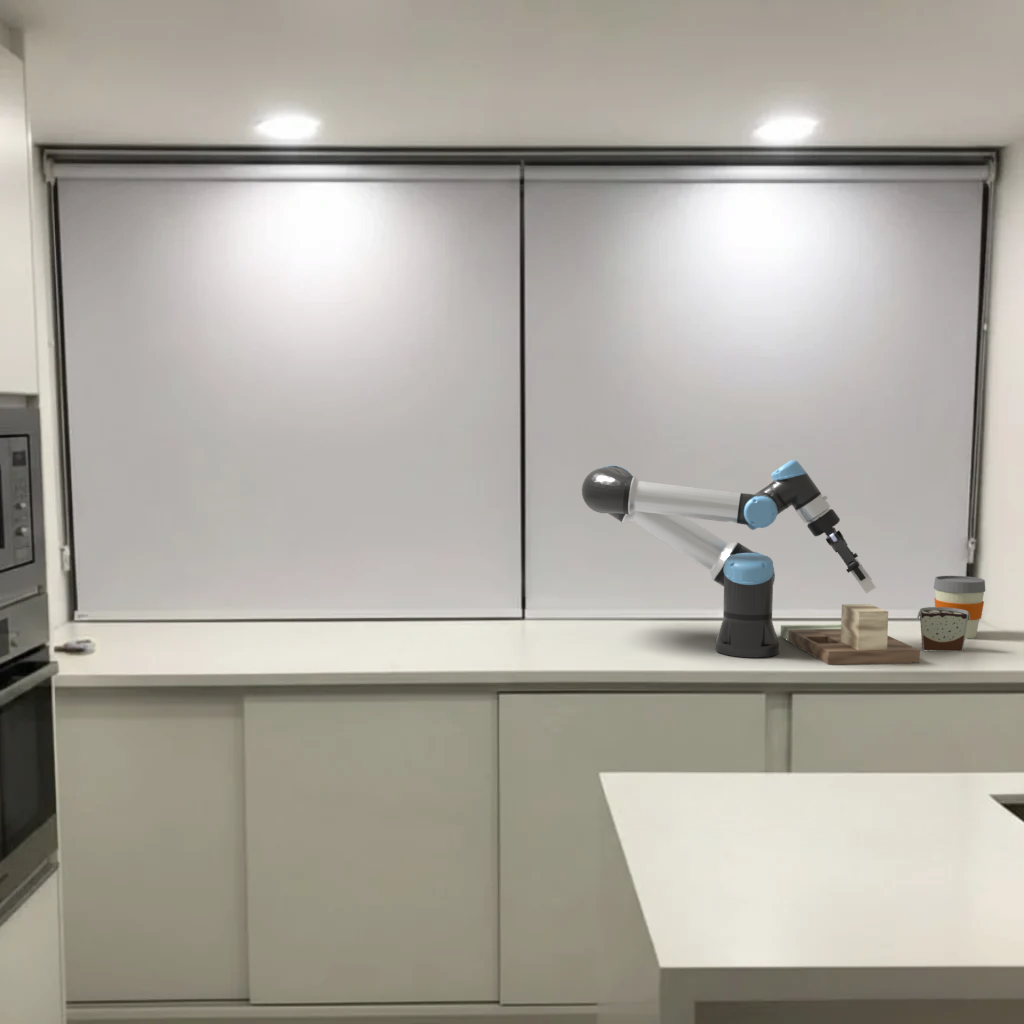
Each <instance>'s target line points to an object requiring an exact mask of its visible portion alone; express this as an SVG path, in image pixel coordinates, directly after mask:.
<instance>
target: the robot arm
mask: <svg viewBox="0 0 1024 1024" xmlns="http://www.w3.org/2000/svg"><path fill="white" fill-rule="evenodd" d="M770 477H771V478H772V480H773V481H772V482H771V483H769V484H768V485H767V486H765V487H764V488H762V489H761V490H758V491H757V492H756V493H754V494H753V493H743V492H734V491H726V490H725V491H724V490H717V489H709V488H700V487H691V486H684V485H676V484H675V485H674V484H667V483H659V482H650V481H643V480H639V479H638V477H636V476H633V475H632V473H630V472H629V471H628V469H625V468H624V467H621V466H618V465H607V466H603V467H600V468H596V469H594V470H592V471H591V472H589V474H587V476H586V477H585V478H584V479H583V483H582V486H581V496H582V499H583V501H584V503H585V504H586V506H587V507H588V508H589V509H590V510H592V511H594V512H596V513H598V514H599V513H600V514H608V515H609V516H611V517H613V518H615V519H616V520H618V521H619V522H621V523H622V524H623V523H629V522H632V523H633V524H635V525H636V526H638V527H639V528H641V529H643V530H644V531H646V532H647V533H649V534H651V535H652V536H654V537H655V538H657V539H658V540H660V541H662V542H664V543H665V544H666V545H668V546H670V547H671V548H672V549H674V550H676V551H677V552H679V553H681V555H684V556H686V557H687V558H688V559H690V560H692V561H693V562H695V563H696V564H698V565H700V566H701V567H703V568H704V569H706V570H708V571H709V573H710V575H711V578H712V579H711V580H712V581H714V582H715V583H717V584H718V585H720V586H722V587H723V613H722V614H723V616H722V617H723V618H722V622H721V624H720V628H719V630H718V634H717V636H716V639H715V651H716V652H717V653H719V654H723V655H726V656H732V657H740V658H767V657H768V658H769V657H772V656H773V657H774V656H776V655H778V654H779V652H780V650H779V649H780V644H779V643H780V642H779V640H778V637H777V632H776V629H775V627H774V623H773V603H774V601H773V598H774V597H773V595H774V594H773V593H774V592H773V591H774V584H775V583H774V582H775V578H776V575H775V567H774V561H773V559H772V558H771V557H770V556H768V555H765V554H762V553H760V552H757V551H753V550H751V549H749V548H748V547H747V546H744V545H743V544H741V543H739V542H738V541H735V542H727V541H726V540H724V539H722V538H720V537H719V536H717V535H716V534H714V533H712V532H711V531H710V530H708V529H706V528H705V527H703V526H702V525H700V524H698V523H697V522H695V521H694V520H692V519H698V520H708V521H716V522H722V523H732V524H737V525H738V524H739V525H745V526H747V527H748V528H749V530H752V531H754V530H757V529H764V528H767V527H770V525H772V524H773V523H774V522H775V521H776V519H777V516H778V515H779V514H781V513H782V512H784V511H785V510H786V509H789V507H791V506H792V507H793V508H794V510H795V512H796V513H797V515H798V516H799V517H800V518H801V520H802V522H803V523H804V524H807V525H806V527H807V528H808V530H809V531H810V533H811V534H812V535H813V536H814V537H819V536H821V535H822V534H825V535H826V538H825V541H826V543H827V544H828V545H829V546H830V547H831V548H832V550H833V551H834V552H835V553H837V554H838V555H839V557H840V558H841V560H843V562H844V564H845V565H846V566H847V568H846V570H845V571H846V572H847V573H848V574H849V573H850V572H851V575H852V576H853V577H854V578H855V580H856V581H857V583H858V584H859V585H860V587H861V589H862V590H863V591H864V593H865V594H868V593H870V592H871V591H873V590H874V589H876V588H877V586H876V585H875V584H874V583H873V581H872V577H871V576H870V575H869V572H867V570H866V569H865V568H864V567H863V565H862V563H861V562H860V561H859V559H858V557H859V555H858V554H857V553H856V552H855V553H854V552H853V551H852V550H851V549H850V548H849V546H848V543H847V541H846V539H845V538H844V535H843V534H842V532H841V531H840V530H836V528H835V526H836V525H838V524H839V523H840V521H841V519H840V517H839V515H837V513H836V511H835V510H834V509H832V508H830V506H831V505H830V504H829V502H828V501H827V500H828V496H826V495H823V494H822V492H821V491H820V489H819V487H817V486H816V484H815V482H814V481H813V479H812V478H811V477H810V475H809V474H808V473H807V472H806V470H805V468H804V467H803V466H802V465H801V464H800V463H799V461H798V460H796V459H792V460H789V461H787V462H786V463H784V464H782V465H781V466H780V467H779V468H777V469H775V470H774V471H773V472H772V473H771V476H770ZM691 518H692V519H691Z"/></svg>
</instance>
